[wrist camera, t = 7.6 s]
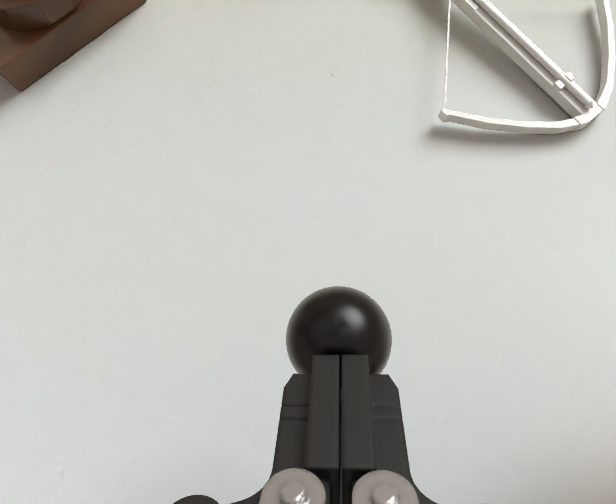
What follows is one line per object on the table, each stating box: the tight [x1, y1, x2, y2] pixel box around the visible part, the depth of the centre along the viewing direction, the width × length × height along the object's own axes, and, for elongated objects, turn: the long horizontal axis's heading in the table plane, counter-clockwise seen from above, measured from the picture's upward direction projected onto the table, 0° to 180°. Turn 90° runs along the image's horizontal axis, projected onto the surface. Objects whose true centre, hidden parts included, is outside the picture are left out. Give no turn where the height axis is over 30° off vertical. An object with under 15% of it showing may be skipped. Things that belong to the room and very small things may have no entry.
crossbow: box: [438, 0, 615, 134], centre depth 29 cm, size 16×13×2 cm
